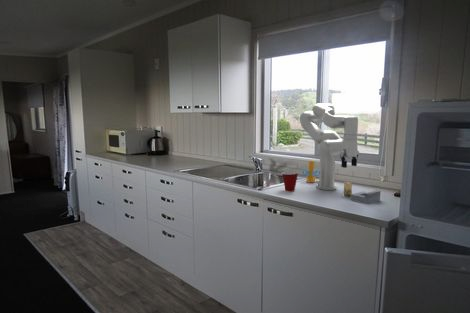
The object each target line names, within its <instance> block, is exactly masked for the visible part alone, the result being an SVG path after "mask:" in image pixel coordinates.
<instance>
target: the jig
mask: <svg viewBox="0 0 470 313" xmlns="http://www.w3.org/2000/svg"><path fill="white" fill-rule="evenodd" d="M350 200H351V201H356V202H359V203H364V204H372V203H376V202H379V201H381V190H378V189H377V190H373V191H369V192H366V191H363V190H362V191H360V192H359V191H358V192H354V193H352V194H351V196H350Z"/></svg>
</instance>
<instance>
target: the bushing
mask: <svg viewBox="0 0 470 313" xmlns="http://www.w3.org/2000/svg"><path fill="white" fill-rule="evenodd" d="M352 188H353V182H351V181H344V183H343V197H345V198H346V197H347V198H349V197H350V196H351V194H353V189H352Z"/></svg>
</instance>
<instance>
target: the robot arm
mask: <svg viewBox="0 0 470 313" xmlns="http://www.w3.org/2000/svg"><path fill="white" fill-rule="evenodd" d="M335 114H336V112H335V107H334V105H333V104H331V103H322V102H321V103H320V102H319V103H316V104H314V105H313V106H312V108H311V110H307V111H303V112H302V113H301V114H300V116H299V122H300V125H301V128H302V129H303V130H304V131H305V132H306V133H307V134H308V136H309V137H311V139H312V141H314V144H317V145H318V152H319V172H320V175H319V177H318V178H319V179H315V182H314V183H315V184H316V189H318V190H322V191H335V190H337V188H338V187H337V186H336V185H335V175H336V174H335V171H336V161H335V158H334V155H339V156H340V161H341V168H345V169H347V167H348V161H347V160H348V158H351V162H350V163H351V166H352V167H357V166H358V164H357V163H358V157H359V154H360V151H359V150H358V129H359V128H358V126H359V118H358V117H357V116H355V115H354V116H353V115H352V116H351V115H335ZM322 123H323V124H324V125H325V126H326V127H328V128H330V129H333V130H323V129H322V128H321V127H320V126H319V125H317V124H322ZM334 129H336V130H337V129H343V139H342V137H341V136H340V135H339V134H338V133H337V132H336V131H334Z"/></svg>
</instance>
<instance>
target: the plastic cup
mask: <svg viewBox="0 0 470 313" xmlns="http://www.w3.org/2000/svg"><path fill="white" fill-rule="evenodd" d="M281 175H282V179H283V185H284V190H285V192H295V190H296V185H297V179H298V175H299V171H283V172H281Z"/></svg>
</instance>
